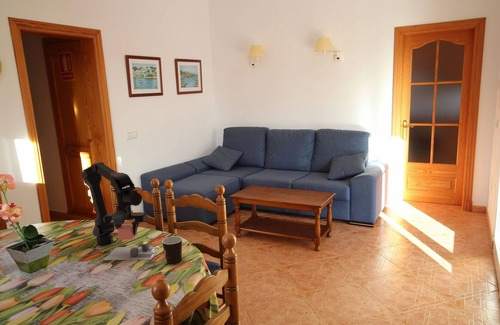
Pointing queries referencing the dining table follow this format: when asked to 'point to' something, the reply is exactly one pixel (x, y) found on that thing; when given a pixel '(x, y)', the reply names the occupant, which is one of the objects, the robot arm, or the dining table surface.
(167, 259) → the coffee mug
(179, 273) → the dining table surface
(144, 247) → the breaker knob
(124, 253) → the breaker panel
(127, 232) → the cap
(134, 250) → the block
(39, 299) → the dining table surface
